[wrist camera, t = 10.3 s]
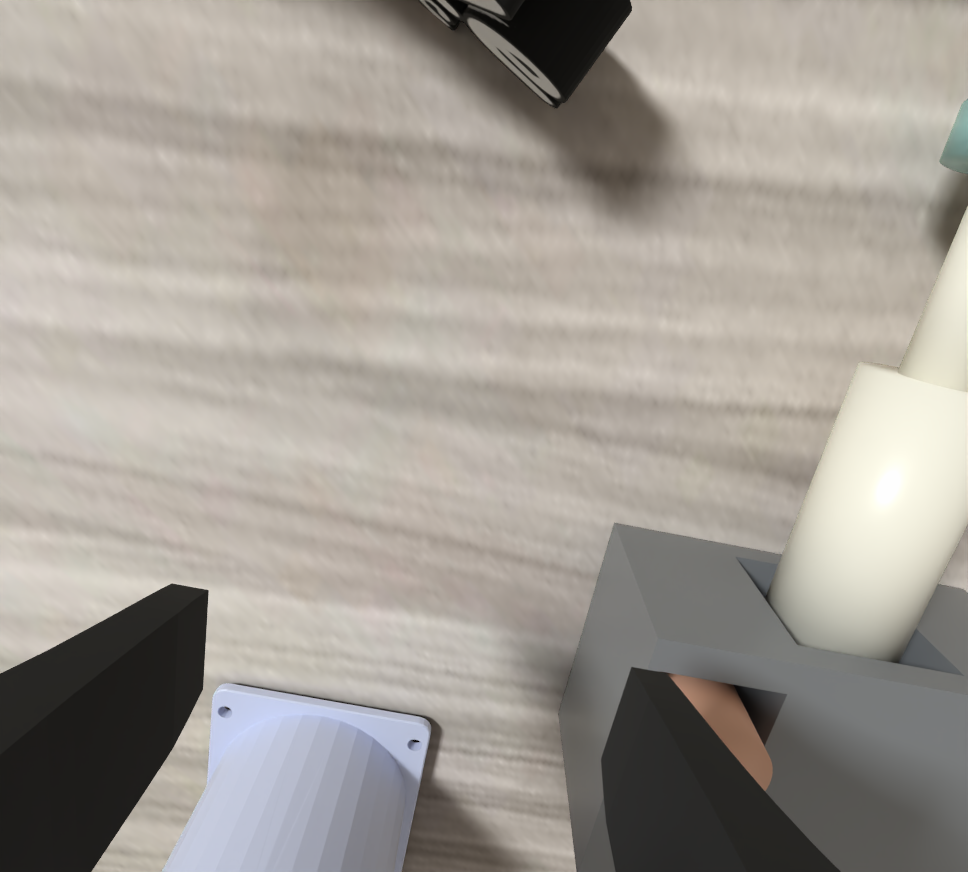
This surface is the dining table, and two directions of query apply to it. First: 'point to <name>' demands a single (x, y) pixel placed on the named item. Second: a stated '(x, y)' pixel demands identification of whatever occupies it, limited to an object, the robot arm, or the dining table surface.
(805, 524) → the push handle
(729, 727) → the plunger
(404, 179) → the dining table surface
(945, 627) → the housing
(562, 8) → the logo
